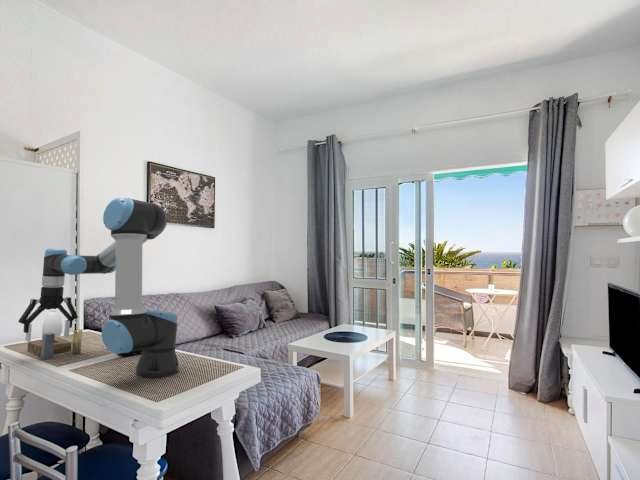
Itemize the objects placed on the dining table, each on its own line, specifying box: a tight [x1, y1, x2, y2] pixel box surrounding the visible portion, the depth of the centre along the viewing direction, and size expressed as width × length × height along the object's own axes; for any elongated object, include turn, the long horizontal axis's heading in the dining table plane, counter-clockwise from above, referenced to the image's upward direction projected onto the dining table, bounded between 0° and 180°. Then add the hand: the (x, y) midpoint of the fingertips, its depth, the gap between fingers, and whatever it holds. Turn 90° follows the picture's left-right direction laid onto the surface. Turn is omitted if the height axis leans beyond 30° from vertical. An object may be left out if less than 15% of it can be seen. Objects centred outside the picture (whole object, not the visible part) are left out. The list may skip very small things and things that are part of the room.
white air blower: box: [41, 308, 63, 338], centre depth 179 cm, size 8×8×18 cm
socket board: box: [27, 337, 73, 357], centre depth 164 cm, size 12×12×4 cm
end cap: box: [116, 349, 143, 357], centre depth 166 cm, size 10×7×7 cm
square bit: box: [39, 333, 55, 361], centre depth 153 cm, size 3×3×10 cm
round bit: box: [71, 329, 83, 356], centre depth 162 cm, size 3×3×10 cm
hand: (47, 338), depth 154 cm, fingers open, 13 cm apart
